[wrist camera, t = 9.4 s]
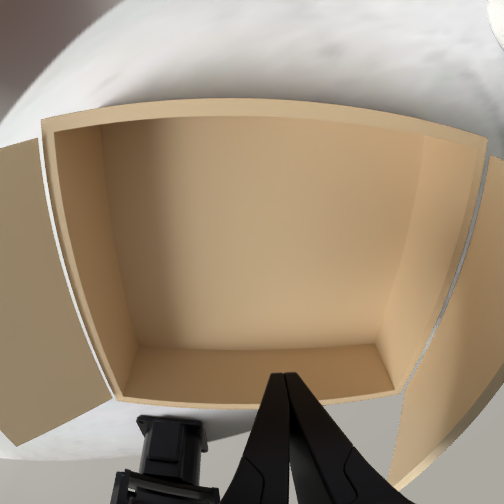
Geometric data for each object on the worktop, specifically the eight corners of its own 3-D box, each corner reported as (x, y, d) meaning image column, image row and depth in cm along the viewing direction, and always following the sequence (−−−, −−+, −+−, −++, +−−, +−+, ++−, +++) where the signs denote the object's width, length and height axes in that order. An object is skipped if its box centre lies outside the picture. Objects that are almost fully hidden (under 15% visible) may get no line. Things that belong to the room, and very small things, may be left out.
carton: (379, 343, 21) (402, 393, 17) (134, 346, 21) (116, 400, 16) (432, 122, 14) (490, 139, 10) (94, 109, 13) (40, 119, 9)
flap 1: (16, 446, 11) (14, 440, 11) (112, 397, 16) (108, 392, 16) (-119, 201, 4) (-116, 198, 4) (37, 138, 9) (36, 138, 9)
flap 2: (404, 390, 16) (411, 392, 16) (383, 494, 10) (391, 496, 10) (489, 155, 10) (499, 158, 9) (572, 203, 4) (585, 210, 3)
